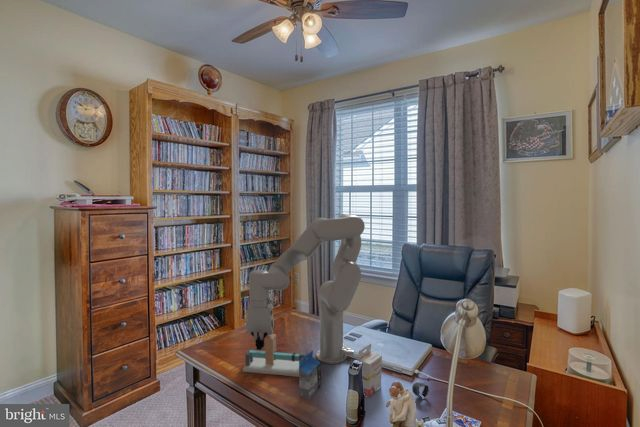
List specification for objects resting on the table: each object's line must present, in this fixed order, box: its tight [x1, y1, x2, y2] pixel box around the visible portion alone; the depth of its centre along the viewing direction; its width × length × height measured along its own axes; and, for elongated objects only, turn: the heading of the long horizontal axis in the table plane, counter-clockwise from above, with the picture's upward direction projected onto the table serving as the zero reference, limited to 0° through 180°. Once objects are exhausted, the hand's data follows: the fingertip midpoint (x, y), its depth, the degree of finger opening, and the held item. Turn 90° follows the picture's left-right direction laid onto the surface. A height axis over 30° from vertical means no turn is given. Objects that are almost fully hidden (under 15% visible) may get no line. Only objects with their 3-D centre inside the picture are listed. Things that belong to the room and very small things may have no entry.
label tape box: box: [298, 350, 322, 400], centre depth 112 cm, size 9×4×12 cm, turn 151°
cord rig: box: [242, 349, 309, 377], centre depth 127 cm, size 24×9×7 cm, turn 81°
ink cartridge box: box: [357, 343, 383, 398], centre depth 113 cm, size 9×5×15 cm, turn 141°
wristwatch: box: [412, 382, 430, 399], centre depth 108 cm, size 3×5×5 cm, turn 103°
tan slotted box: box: [264, 333, 277, 365], centre depth 127 cm, size 3×4×10 cm
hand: (259, 348), depth 128 cm, fingers closed
